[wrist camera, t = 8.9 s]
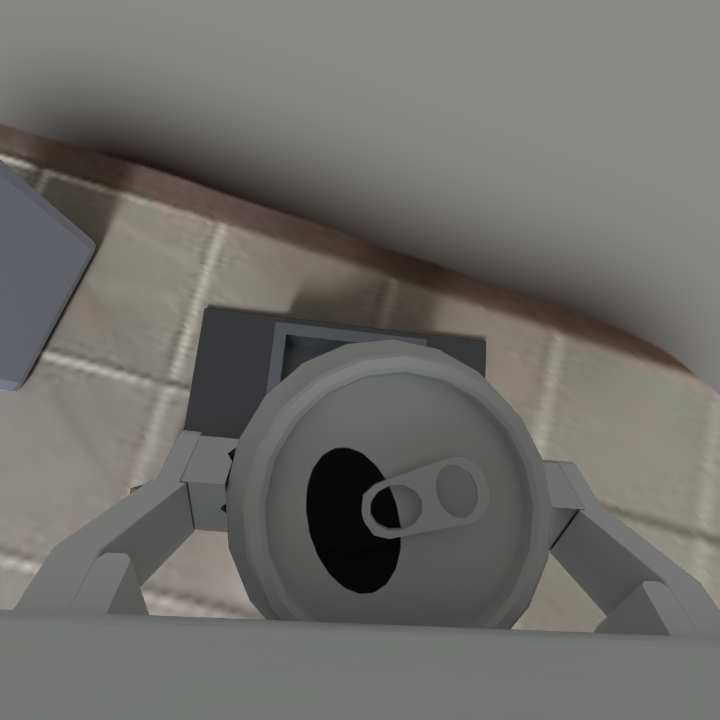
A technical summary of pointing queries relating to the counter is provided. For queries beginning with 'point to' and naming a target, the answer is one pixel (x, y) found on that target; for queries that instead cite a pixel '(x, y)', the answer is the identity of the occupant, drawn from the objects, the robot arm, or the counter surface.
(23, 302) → the soap bottle
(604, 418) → the counter surface
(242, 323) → the socket
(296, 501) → the can
